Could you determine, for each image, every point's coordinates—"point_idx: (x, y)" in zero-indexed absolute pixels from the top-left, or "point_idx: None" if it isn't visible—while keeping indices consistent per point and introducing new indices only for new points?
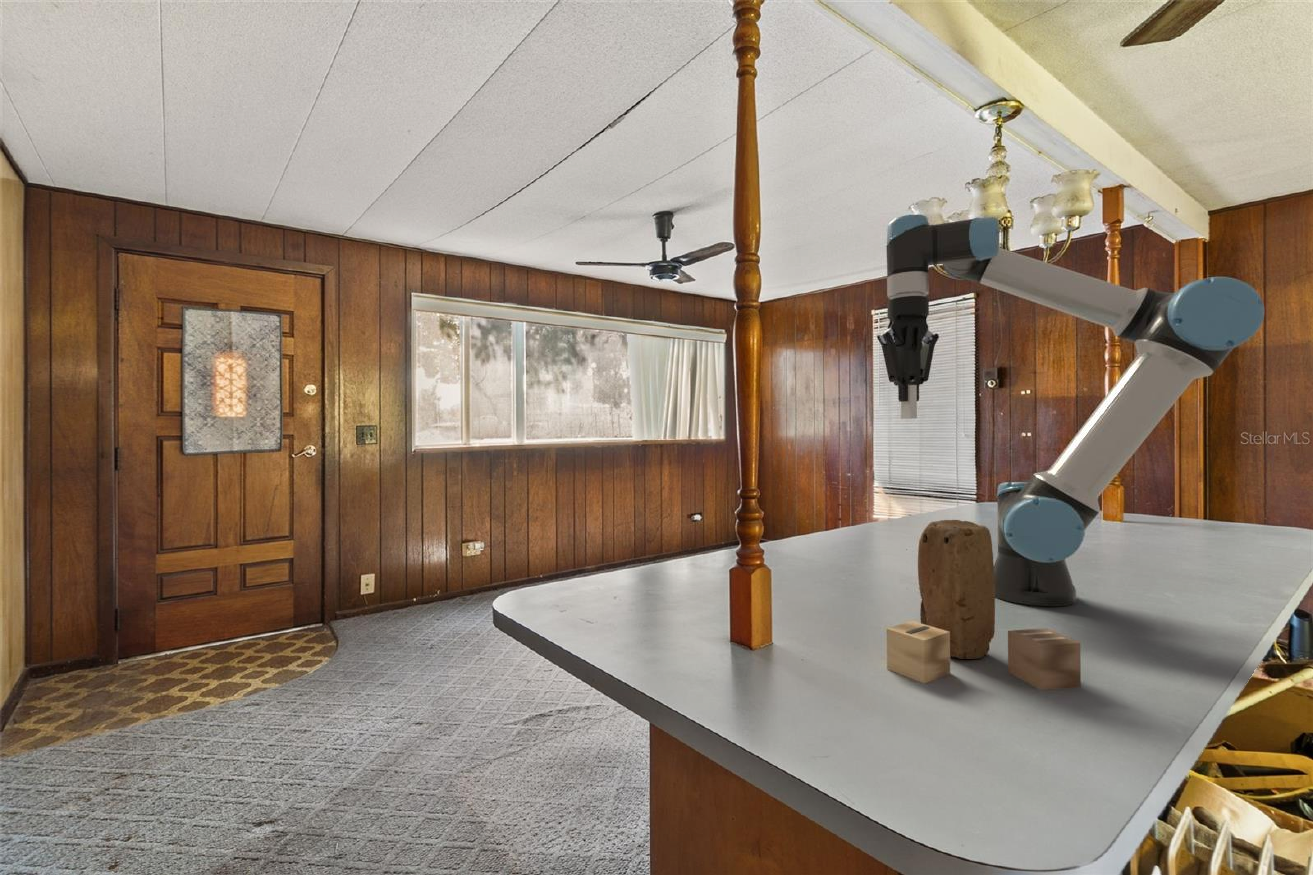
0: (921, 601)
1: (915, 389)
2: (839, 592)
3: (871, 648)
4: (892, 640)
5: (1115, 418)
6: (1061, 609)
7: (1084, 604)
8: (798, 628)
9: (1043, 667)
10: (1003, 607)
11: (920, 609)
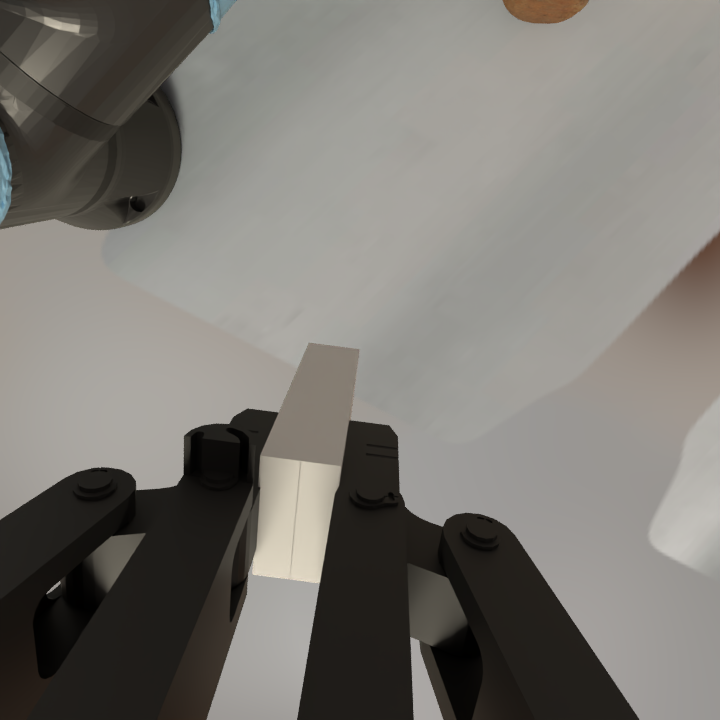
0: (586, 2)
1: (283, 434)
2: (443, 359)
3: (678, 39)
4: None
5: None
6: None
7: None
8: (699, 206)
9: None
10: (222, 110)
11: (581, 9)
